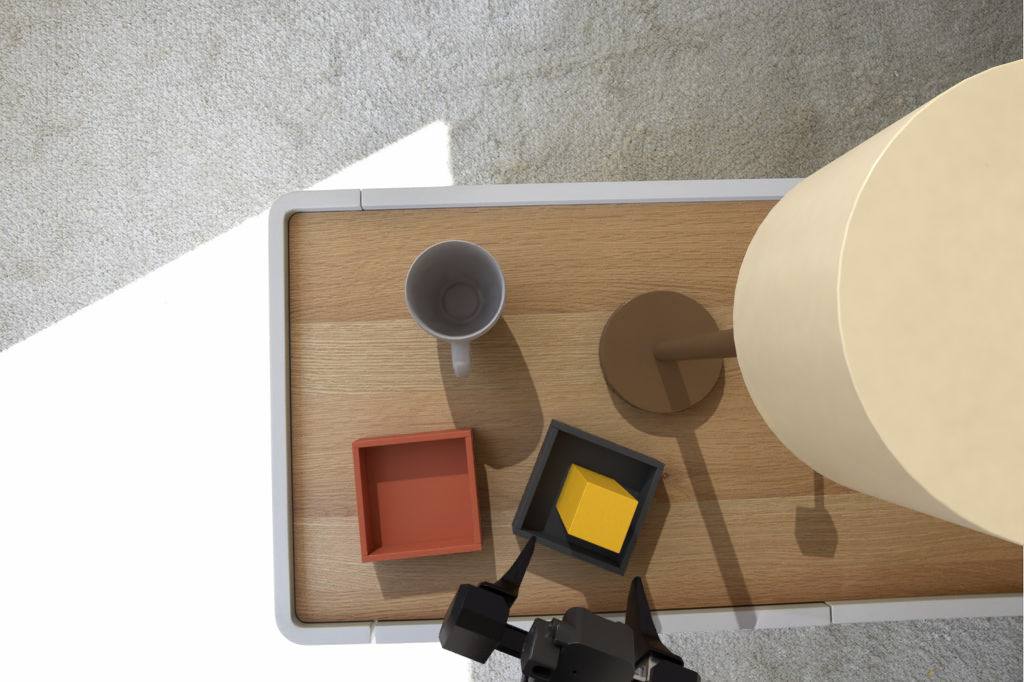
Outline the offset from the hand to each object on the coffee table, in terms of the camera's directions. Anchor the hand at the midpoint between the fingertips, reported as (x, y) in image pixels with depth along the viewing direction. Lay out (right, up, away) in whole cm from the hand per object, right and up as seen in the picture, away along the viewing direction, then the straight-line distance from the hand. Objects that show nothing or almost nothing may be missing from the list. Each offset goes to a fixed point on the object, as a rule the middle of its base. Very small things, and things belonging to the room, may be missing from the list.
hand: (584, 558), depth 54 cm
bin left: (-15, +3, +10) cm, 19 cm away
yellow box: (+1, +3, +10) cm, 11 cm away
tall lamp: (+9, +17, +12) cm, 22 cm away
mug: (-11, +20, +12) cm, 26 cm away
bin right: (+1, +3, +11) cm, 11 cm away
